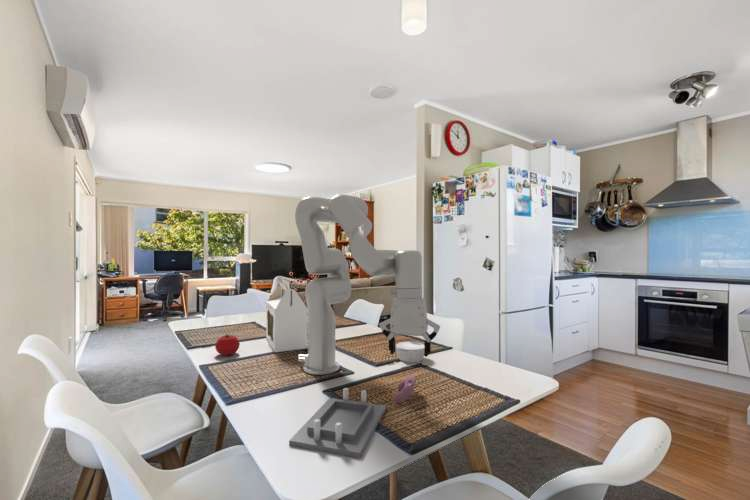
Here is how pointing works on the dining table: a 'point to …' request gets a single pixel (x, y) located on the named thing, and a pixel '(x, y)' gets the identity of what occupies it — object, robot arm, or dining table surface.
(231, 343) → the tomato
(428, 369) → the dining table surface
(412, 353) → the ramekin
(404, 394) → the pink rounded piece
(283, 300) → the gable box
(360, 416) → the tray
